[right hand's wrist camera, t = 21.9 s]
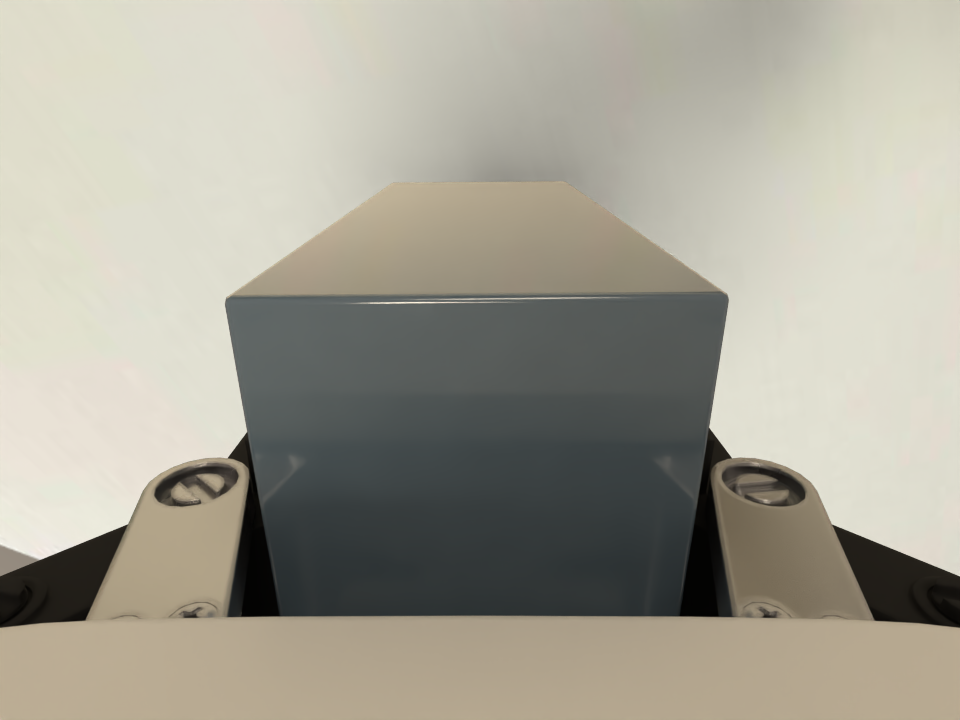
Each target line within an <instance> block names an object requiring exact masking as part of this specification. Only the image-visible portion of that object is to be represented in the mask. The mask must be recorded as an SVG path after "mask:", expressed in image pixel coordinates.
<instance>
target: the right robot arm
mask: <svg viewBox="0 0 960 720" xmlns="http://www.w3.org/2000/svg"><path fill="white" fill-rule="evenodd" d="M0 720H960V576H957V575H955V574H952V573H950V572H947V571H945V570H943V569H940V568H938V567H935V566H933V565H930V564H928V563H925V562H923V561H920V560H918V559H915V558H913V557H911V556H908V555H906V554H903V553H901V552H898V551H896V550H893V549H891V548H888V547H886V546H883V545H881V544H879V543H876V542H874V541H871V540H869V539H866V538H864V537H861V536H859V535H856V534H854V533H852V532H849V531H847V530H844V529H842V528H839V527H837V526H834V525H832V524H831V521H830V519H829V517H828V515H827V512H826V510H825V508H824V506H823V503H822V501H821V499H820V497H819V494H818V492H817V490H816V489H815V488H814V486H813V485H812V483H811V482H810V481H809V480H807V479H806V478H805V477H803V476H802V475H801V474H799V473H797V472H795V471H793V470H791V469H790V468H788V467H785V466H782V465H779V464H777V463H774V462H771V461H766V460H761V459H755V458H733V459H732V458H731V456H730V455H729V454H728V452H727V451H726V450H725V448H724V447H723V446H722V444H721V443H720V442H719V440H718V439H717V438H716V436H715V435H714V434H713V432H712V431H711V430H710V428H709V431H708V437H707V444H706V450H705V457H704V463H703V470H702V476H701V482H700V489H699V495H698V502H697V508H696V515H695V521H694V528H693V534H692V541H691V547H690V553H689V560H688V566H687V573H686V579H685V586H684V592H683V599H682V605H681V612H680V617H656V616H304V617H280V616H279V610H278V604H277V599H276V593H275V587H274V582H273V576H272V570H271V564H270V559H269V553H268V547H267V542H266V536H265V530H264V524H263V519H262V513H261V507H260V501H259V496H258V490H257V484H256V479H255V473H254V467H253V461H252V456H251V450H250V444H249V439H248V433H246V434H245V436H244V437H243V438H242V440H241V441H240V442H239V444H238V445H237V446H236V448H235V449H234V450H233V452H232V453H231V454H230V456H229V457H228V458H205V459H199V460H194V461H189V462H186V463H183V464H181V465H178V466H175V467H172V468H170V469H169V470H167V471H165V472H163V473H161V474H159V475H158V476H157V477H155V478H154V479H153V480H151V481H150V482H149V483H148V485H147V486H146V488H145V489H144V490H143V492H142V494H141V497H140V499H139V501H138V503H137V506H136V508H135V510H134V512H133V515H132V517H131V519H130V521H129V524H128V525H125V526H123V527H120V528H118V529H116V530H113V531H111V532H108V533H106V534H103V535H101V536H98V537H96V538H93V539H91V540H88V541H86V542H84V543H81V544H79V545H76V546H74V547H71V548H69V549H66V550H64V551H61V552H59V553H57V554H54V555H52V556H49V557H47V558H44V559H42V560H39V561H37V562H34V563H32V564H29V565H27V566H25V567H22V568H20V569H17V570H15V571H12V572H10V573H7V574H5V575H3V576H0Z"/></svg>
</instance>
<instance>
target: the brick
mask: <svg viewBox="0 0 960 720" xmlns="http://www.w3.org/2000/svg"><path fill="white" fill-rule="evenodd" d="M728 302H729V299H728V295H727V293H725V292H724V291H722V290H721V289H719V288H718V287H717V286H715V285H714V284H712V283H711V282H709V281H708V280H707V279H705V278H704V277H702V276H701V275H699V274H698V273H696V272H695V271H694V270H692V269H691V268H689V267H688V266H686V265H685V264H683V263H682V262H681V261H679V260H678V259H676V258H675V257H673V256H672V255H671V254H669V253H668V252H666V251H665V250H663V249H662V248H660V247H659V246H658V245H656V244H655V243H653V242H652V241H650V240H649V239H647V238H646V237H645V236H643V235H642V234H640V233H639V232H637V231H636V230H635V229H633V228H632V227H630V226H629V225H627V224H626V223H624V222H623V221H622V220H620V219H619V218H617V217H616V216H614V215H613V214H611V213H610V212H609V211H607V210H606V209H604V208H603V207H601V206H600V205H599V204H597V203H596V202H594V201H593V200H591V199H590V198H588V197H587V196H586V195H584V194H583V193H581V192H580V191H578V190H577V189H575V188H574V187H573V186H571V185H570V184H568V183H567V182H565V181H532V182H402V183H391V184H390V185H388V186H387V187H386V188H384V189H383V190H381V191H380V192H378V193H377V194H375V195H374V196H373V197H371V198H370V199H368V200H367V201H365V202H364V203H362V204H361V205H360V206H358V207H357V208H355V209H354V210H352V211H351V212H349V213H348V214H347V215H345V216H344V217H342V218H341V219H339V220H338V221H336V222H335V223H333V224H332V225H331V226H329V227H328V228H326V229H325V230H323V231H322V232H320V233H319V234H318V235H316V236H315V237H313V238H312V239H310V240H309V241H307V242H306V243H305V244H303V245H302V246H300V247H299V248H297V249H296V250H294V251H293V252H291V253H290V254H289V255H287V256H286V257H284V258H283V259H281V260H280V261H278V262H277V263H276V264H274V265H273V266H271V267H270V268H268V269H267V270H265V271H264V272H263V273H261V274H260V275H258V276H257V277H255V278H254V279H252V280H251V281H250V282H248V283H247V284H245V285H244V286H242V287H241V288H239V289H238V290H236V291H235V292H234V293H232V294H231V295H229V296H228V297H226V301H225V307H226V313H227V318H228V324H229V330H230V336H231V341H232V347H233V353H234V358H235V364H236V370H237V376H238V381H239V387H240V393H241V399H242V404H243V410H244V416H245V421H246V427H247V433H248V439H249V444H250V450H251V456H252V461H253V467H254V473H255V479H256V484H257V490H258V496H259V501H260V507H261V513H262V519H263V524H264V530H265V536H266V542H267V547H268V553H269V559H270V564H271V570H272V576H273V582H274V587H275V593H276V599H277V604H278V610H279V616H280V617H304V616H656V617H680V612H681V605H682V599H683V592H684V586H685V579H686V573H687V566H688V560H689V553H690V547H691V541H692V534H693V528H694V521H695V515H696V508H697V502H698V495H699V489H700V482H701V476H702V470H703V463H704V457H705V450H706V444H707V437H708V431H709V424H710V418H711V411H712V405H713V399H714V392H715V386H716V379H717V373H718V366H719V360H720V353H721V347H722V340H723V334H724V328H725V321H726V315H727V308H728Z"/></svg>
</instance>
